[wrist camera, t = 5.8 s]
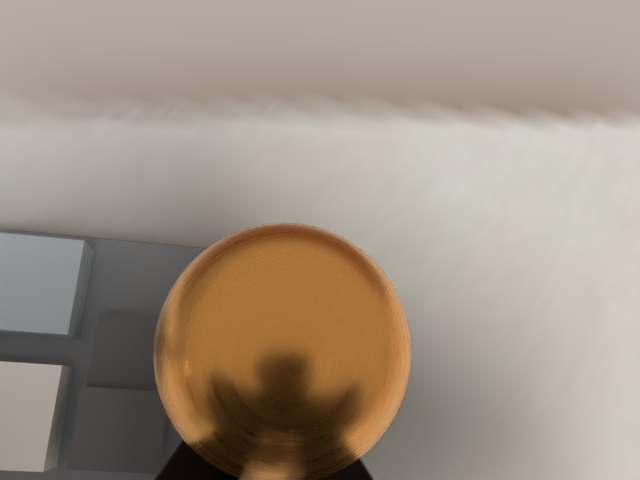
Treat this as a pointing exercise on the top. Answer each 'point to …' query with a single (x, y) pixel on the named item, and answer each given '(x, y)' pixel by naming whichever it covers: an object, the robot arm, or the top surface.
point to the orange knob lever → (282, 353)
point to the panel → (83, 356)
